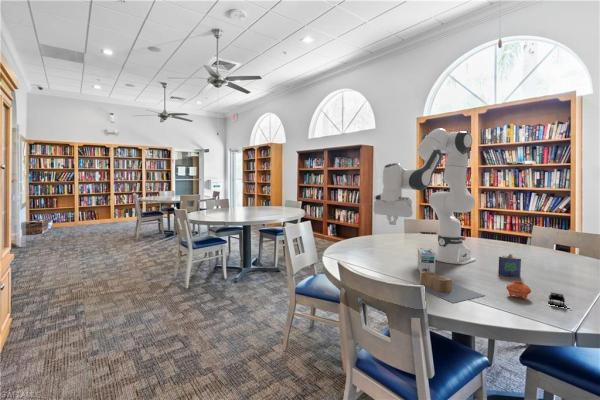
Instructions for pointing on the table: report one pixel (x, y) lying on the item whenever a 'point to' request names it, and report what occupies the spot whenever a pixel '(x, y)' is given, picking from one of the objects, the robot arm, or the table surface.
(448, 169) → the robot arm
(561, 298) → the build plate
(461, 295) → the mat
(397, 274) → the table surface
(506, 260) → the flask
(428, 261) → the light bulb box
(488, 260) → the table surface
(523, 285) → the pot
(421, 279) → the walnut block
